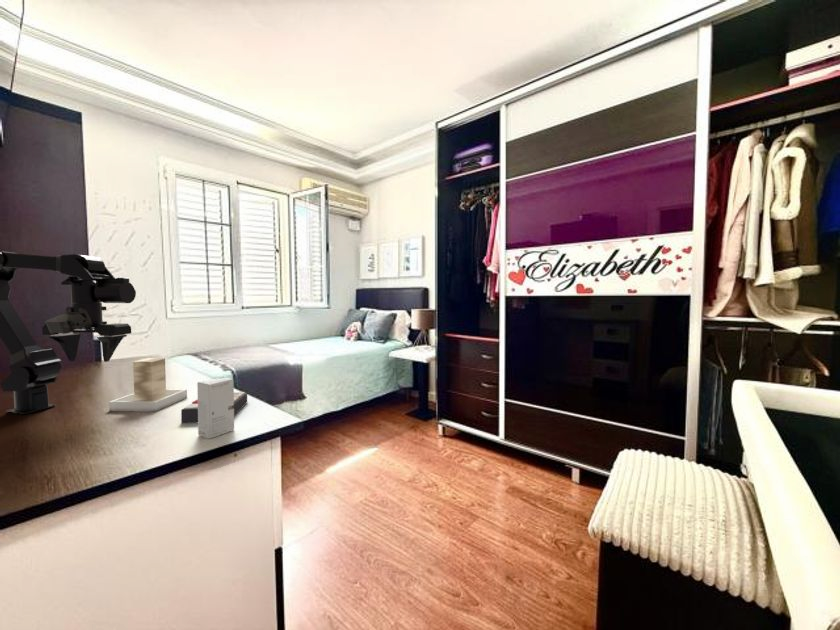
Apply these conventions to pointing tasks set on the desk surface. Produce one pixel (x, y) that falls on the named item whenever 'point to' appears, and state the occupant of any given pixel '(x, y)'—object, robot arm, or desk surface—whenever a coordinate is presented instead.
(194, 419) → the calculator
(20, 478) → the desk surface
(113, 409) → the white tray
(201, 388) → the skincare box
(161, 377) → the birch block
